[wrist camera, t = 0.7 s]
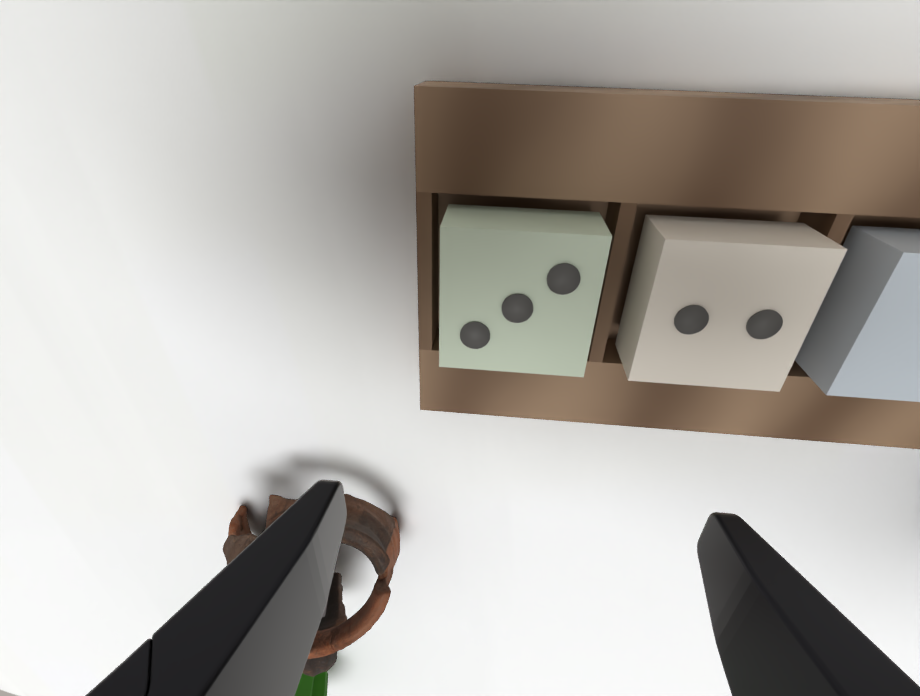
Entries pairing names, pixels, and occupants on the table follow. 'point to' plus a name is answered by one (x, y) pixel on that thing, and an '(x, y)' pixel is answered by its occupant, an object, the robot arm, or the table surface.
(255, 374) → the table surface
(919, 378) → the tile one
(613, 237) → the tile board
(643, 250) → the tile two
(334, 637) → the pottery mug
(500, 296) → the tile three
